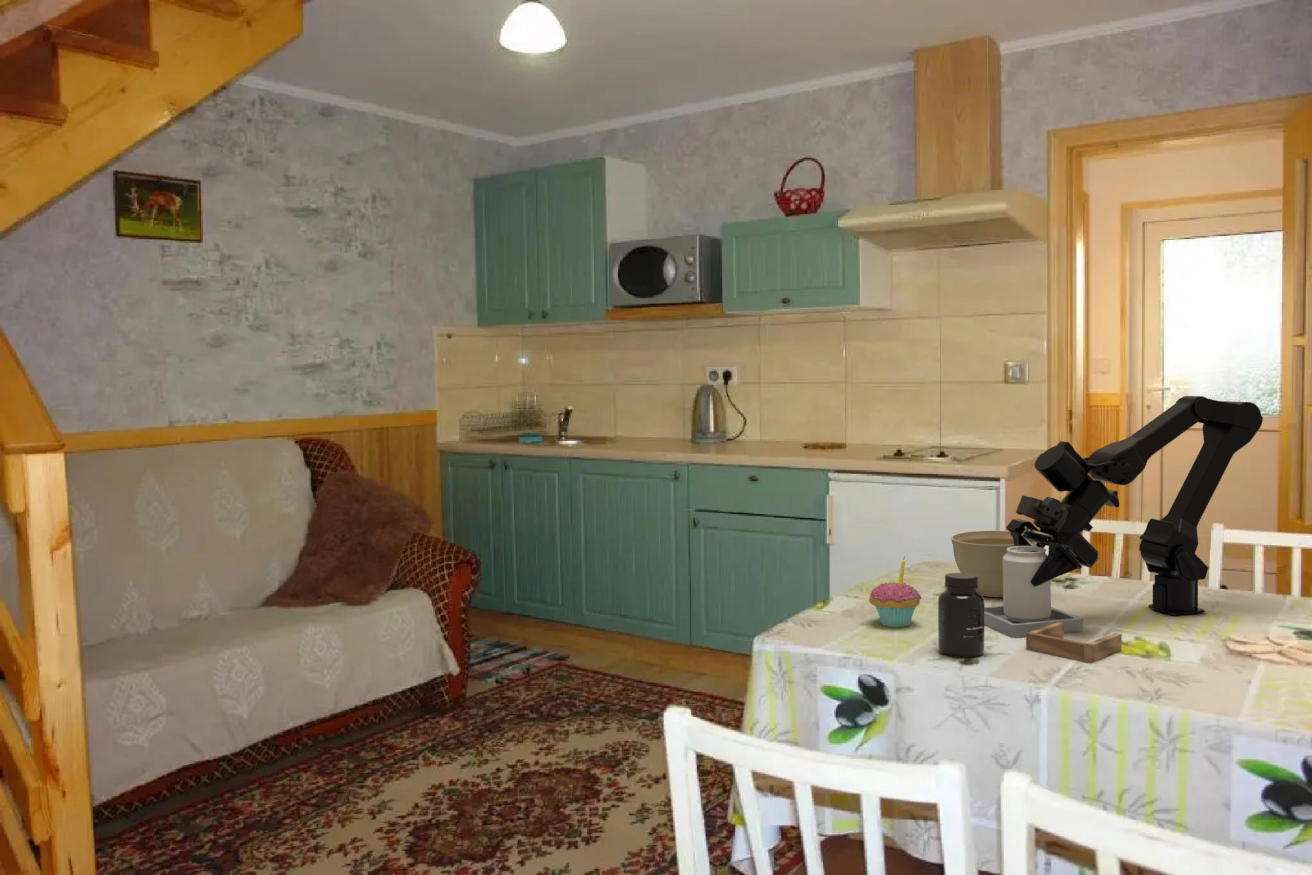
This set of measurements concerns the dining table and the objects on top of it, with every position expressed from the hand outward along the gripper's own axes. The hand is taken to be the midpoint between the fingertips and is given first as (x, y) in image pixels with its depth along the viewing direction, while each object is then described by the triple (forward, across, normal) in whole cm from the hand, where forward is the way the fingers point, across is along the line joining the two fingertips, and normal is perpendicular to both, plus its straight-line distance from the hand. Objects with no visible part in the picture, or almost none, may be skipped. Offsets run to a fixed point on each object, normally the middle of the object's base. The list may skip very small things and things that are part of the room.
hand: (1019, 579), depth 171 cm
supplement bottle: (+18, +11, -6) cm, 22 cm away
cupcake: (+19, -8, -8) cm, 22 cm away
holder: (+5, +15, +6) cm, 17 cm away
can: (+4, 0, +6) cm, 7 cm away
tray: (+5, 0, +6) cm, 8 cm away
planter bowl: (-1, -23, +12) cm, 26 cm away
